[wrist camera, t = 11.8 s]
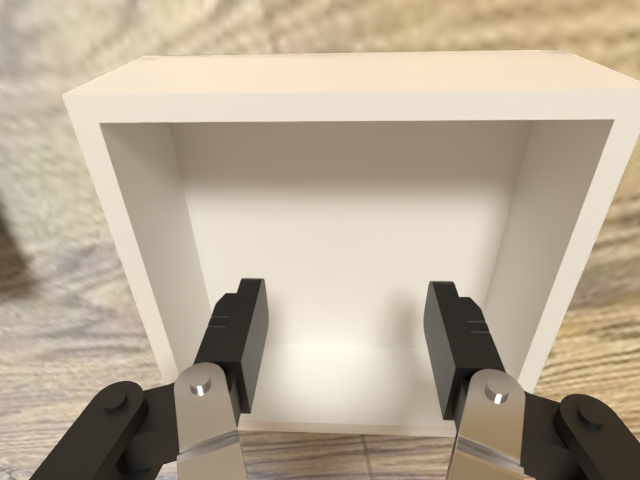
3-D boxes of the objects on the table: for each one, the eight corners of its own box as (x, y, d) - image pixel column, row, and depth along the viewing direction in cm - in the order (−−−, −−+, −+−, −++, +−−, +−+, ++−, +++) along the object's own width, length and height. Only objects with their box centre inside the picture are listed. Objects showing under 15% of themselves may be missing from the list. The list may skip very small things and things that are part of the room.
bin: (562, 49, 14) (657, 88, 10) (480, 346, 21) (513, 439, 17) (143, 55, 14) (61, 94, 10) (211, 340, 22) (180, 428, 18)
